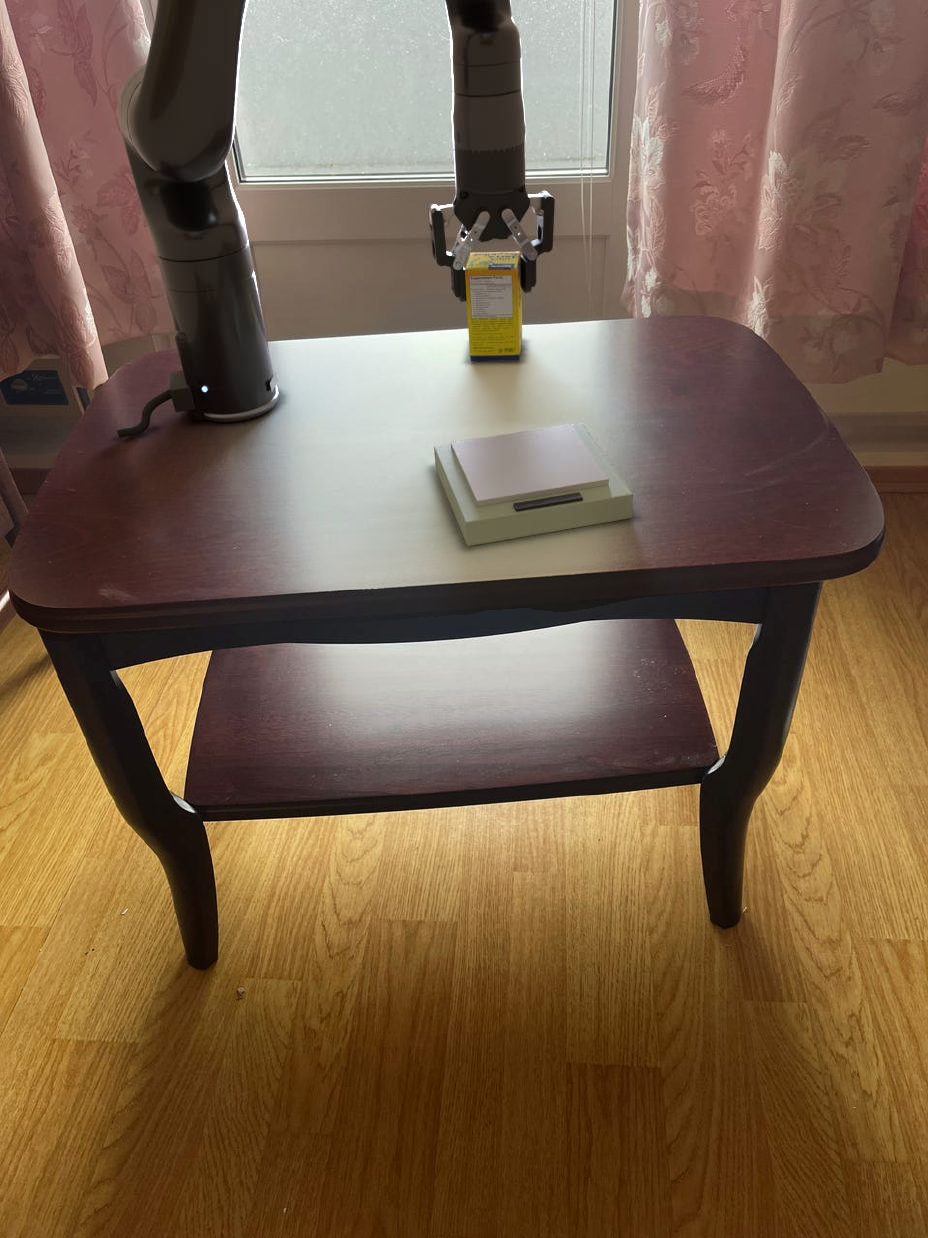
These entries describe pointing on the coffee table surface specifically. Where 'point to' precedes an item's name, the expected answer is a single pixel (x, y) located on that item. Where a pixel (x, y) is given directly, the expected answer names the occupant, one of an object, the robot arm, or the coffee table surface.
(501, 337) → the supplement box
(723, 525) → the coffee table surface
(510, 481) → the scale
